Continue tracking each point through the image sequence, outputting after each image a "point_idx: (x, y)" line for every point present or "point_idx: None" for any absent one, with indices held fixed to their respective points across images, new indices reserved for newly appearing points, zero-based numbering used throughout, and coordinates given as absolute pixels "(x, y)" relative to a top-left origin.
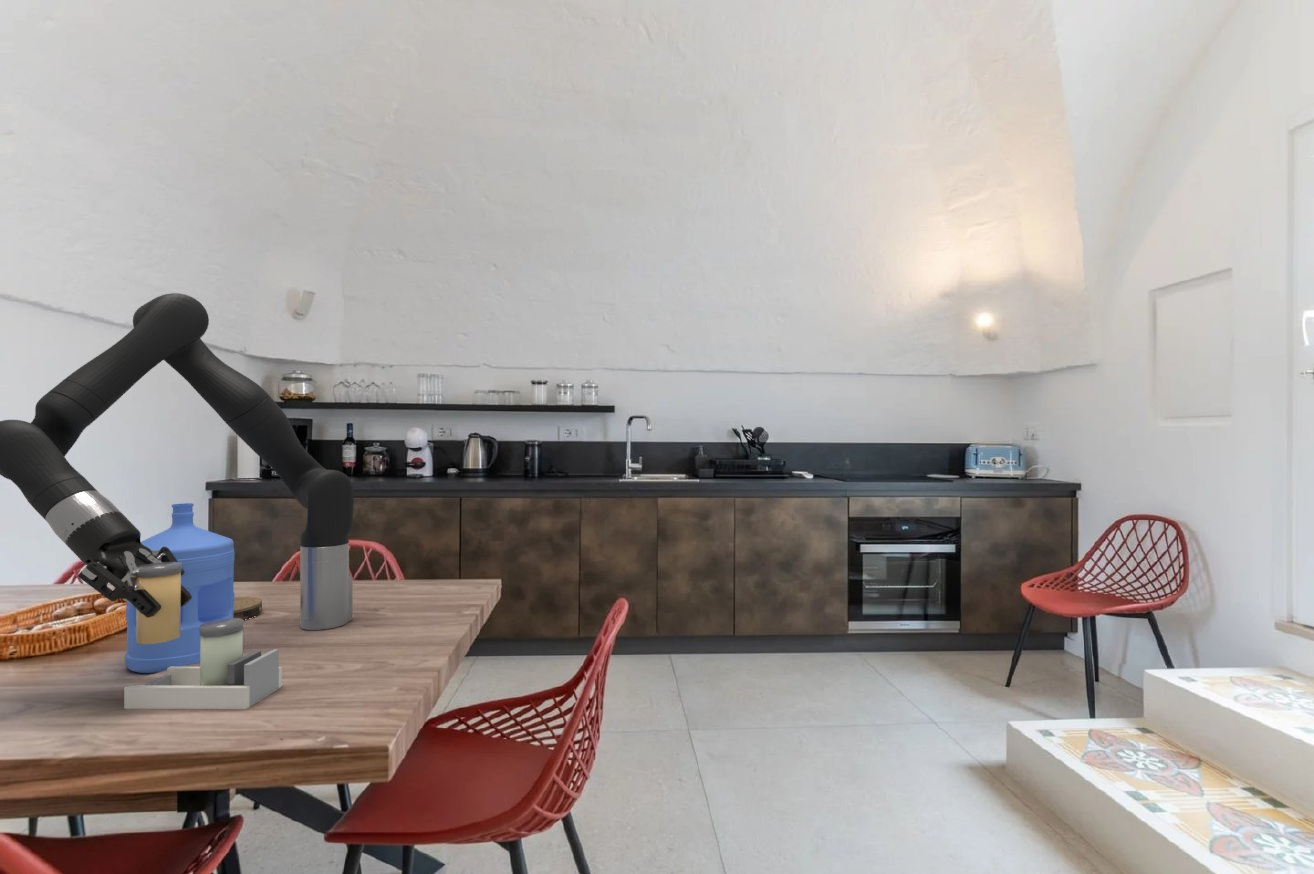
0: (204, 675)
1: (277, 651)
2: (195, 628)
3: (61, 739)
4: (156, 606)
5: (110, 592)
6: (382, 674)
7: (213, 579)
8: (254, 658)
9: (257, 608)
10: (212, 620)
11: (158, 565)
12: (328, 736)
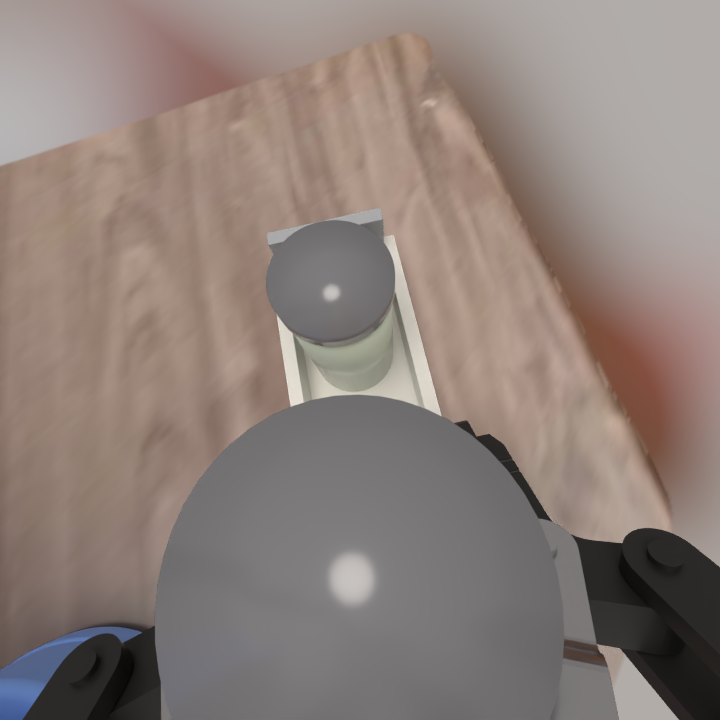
0: (392, 336)
1: (273, 233)
2: None
3: (582, 522)
4: (468, 423)
5: (678, 662)
6: (175, 183)
7: None
8: None
9: None
10: (3, 712)
11: (354, 600)
12: (421, 99)
